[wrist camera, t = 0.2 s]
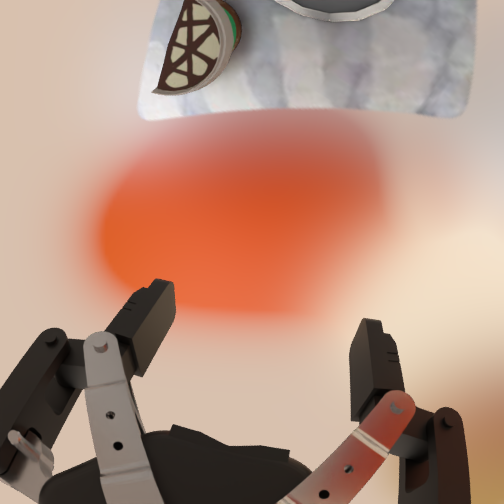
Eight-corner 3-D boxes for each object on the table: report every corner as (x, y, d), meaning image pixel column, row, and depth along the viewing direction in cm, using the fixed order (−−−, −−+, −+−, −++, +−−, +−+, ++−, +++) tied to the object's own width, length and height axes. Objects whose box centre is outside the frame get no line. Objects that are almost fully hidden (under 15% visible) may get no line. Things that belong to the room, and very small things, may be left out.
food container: (229, 86, 35) (202, 117, 28) (187, 69, 34) (150, 96, 27) (268, 3, 25) (248, 8, 19) (219, -13, 24) (183, -12, 18)
